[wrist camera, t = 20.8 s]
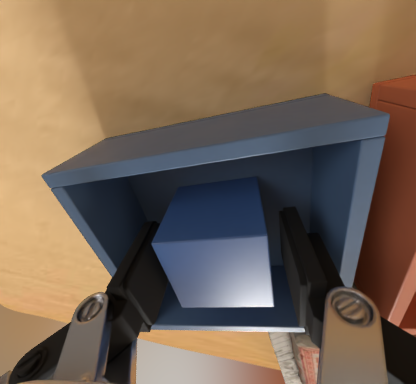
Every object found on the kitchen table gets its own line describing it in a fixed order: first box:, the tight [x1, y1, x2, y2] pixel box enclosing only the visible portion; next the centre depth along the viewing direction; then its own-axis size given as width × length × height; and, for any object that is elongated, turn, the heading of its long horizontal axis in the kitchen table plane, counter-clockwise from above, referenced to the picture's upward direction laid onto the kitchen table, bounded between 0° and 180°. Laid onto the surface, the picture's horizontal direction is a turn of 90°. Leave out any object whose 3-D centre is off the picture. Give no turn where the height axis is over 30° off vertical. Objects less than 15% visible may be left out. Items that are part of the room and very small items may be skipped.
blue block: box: [152, 176, 274, 307], centre depth 11 cm, size 4×4×4 cm
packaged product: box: [268, 282, 416, 384], centre depth 17 cm, size 18×5×10 cm
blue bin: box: [42, 93, 390, 332], centre depth 11 cm, size 11×11×4 cm
